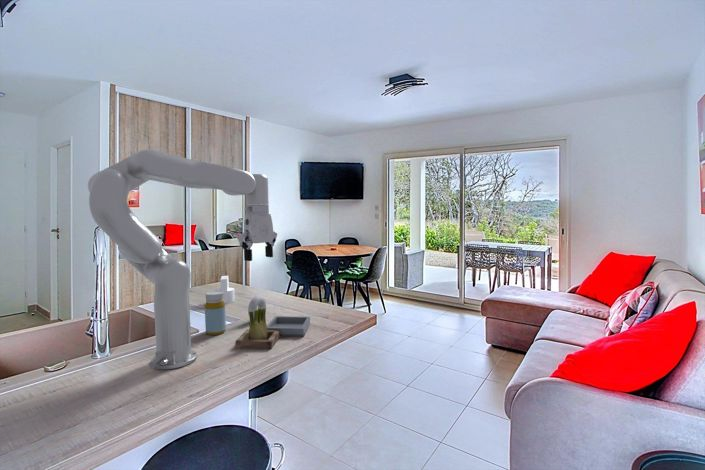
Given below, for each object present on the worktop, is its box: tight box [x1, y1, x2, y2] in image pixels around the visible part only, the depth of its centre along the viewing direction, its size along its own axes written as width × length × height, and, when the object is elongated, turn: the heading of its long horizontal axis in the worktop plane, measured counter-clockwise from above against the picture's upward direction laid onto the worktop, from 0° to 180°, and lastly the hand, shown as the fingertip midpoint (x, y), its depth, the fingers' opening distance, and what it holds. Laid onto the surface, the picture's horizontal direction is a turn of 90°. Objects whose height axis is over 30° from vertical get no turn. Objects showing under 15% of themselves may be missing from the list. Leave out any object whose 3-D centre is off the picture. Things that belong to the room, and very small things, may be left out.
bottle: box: [204, 290, 227, 336], centre depth 135 cm, size 7×7×15 cm
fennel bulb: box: [248, 307, 268, 340], centre depth 125 cm, size 6×5×12 cm
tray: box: [266, 315, 311, 338], centre depth 138 cm, size 14×14×3 cm
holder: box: [235, 329, 281, 350], centre depth 126 cm, size 11×12×2 cm
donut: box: [247, 295, 267, 318], centre depth 150 cm, size 10×4×10 cm, turn 159°
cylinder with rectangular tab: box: [214, 275, 236, 304], centre depth 179 cm, size 9×9×12 cm
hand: (259, 258), depth 128 cm, fingers open, 9 cm apart
